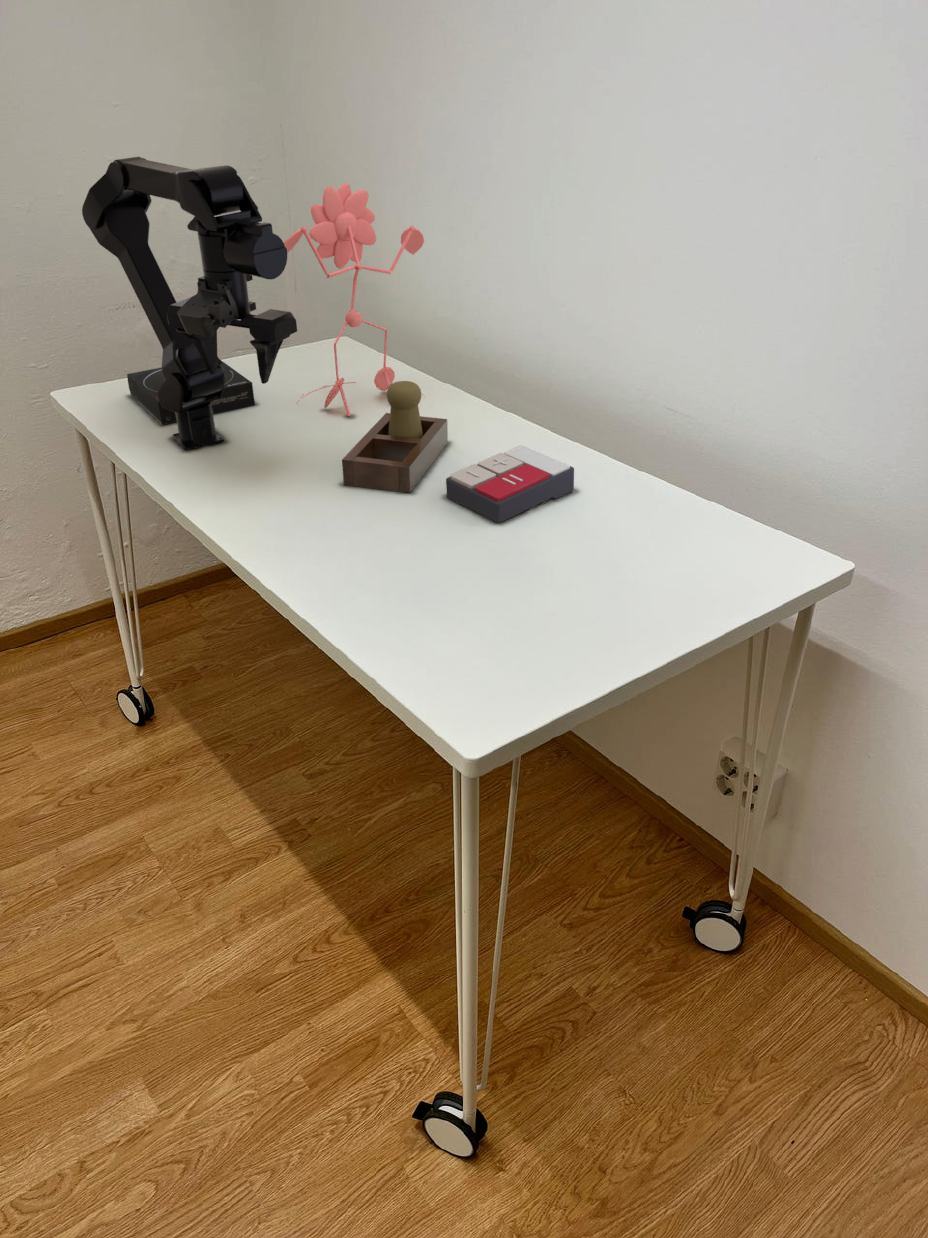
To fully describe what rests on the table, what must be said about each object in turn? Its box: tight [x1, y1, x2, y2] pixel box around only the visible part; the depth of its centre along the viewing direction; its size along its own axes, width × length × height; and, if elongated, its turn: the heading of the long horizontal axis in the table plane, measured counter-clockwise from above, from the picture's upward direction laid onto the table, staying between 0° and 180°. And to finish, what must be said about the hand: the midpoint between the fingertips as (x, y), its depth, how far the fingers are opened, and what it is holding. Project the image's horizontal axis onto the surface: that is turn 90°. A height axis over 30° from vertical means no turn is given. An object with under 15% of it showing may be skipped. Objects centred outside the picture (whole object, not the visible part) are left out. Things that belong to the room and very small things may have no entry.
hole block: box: [341, 412, 449, 494], centre depth 148 cm, size 10×19×4 cm, turn 164°
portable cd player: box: [126, 359, 256, 426], centre depth 171 cm, size 16×17×4 cm
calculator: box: [445, 444, 575, 524], centre depth 139 cm, size 11×4×15 cm
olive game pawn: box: [386, 380, 423, 439], centre depth 149 cm, size 6×6×11 cm
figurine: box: [283, 182, 426, 417], centre depth 162 cm, size 15×26×35 cm, turn 127°
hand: (238, 378), depth 143 cm, fingers open, 9 cm apart
